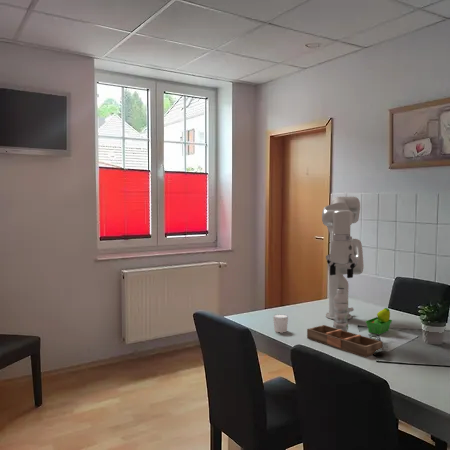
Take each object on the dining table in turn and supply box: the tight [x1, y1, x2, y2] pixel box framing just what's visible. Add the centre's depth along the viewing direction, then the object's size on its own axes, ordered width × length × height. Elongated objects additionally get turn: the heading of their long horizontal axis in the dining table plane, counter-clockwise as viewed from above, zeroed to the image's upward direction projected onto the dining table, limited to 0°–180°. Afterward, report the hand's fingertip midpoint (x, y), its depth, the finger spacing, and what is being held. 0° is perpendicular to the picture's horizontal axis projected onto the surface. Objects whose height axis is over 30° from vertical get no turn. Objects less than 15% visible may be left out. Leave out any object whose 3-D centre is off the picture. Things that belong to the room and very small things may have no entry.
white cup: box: [272, 313, 289, 334], centre depth 210 cm, size 7×7×7 cm
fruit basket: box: [365, 307, 393, 335], centre depth 208 cm, size 11×9×11 cm
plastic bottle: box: [332, 288, 349, 332], centre depth 207 cm, size 6×7×20 cm
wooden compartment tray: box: [306, 324, 384, 358], centre depth 190 cm, size 11×30×4 cm, turn 36°
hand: (341, 276), depth 205 cm, fingers open, 9 cm apart
